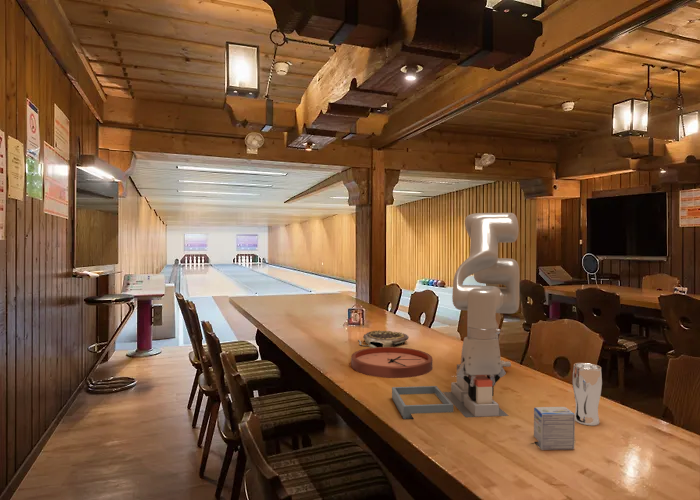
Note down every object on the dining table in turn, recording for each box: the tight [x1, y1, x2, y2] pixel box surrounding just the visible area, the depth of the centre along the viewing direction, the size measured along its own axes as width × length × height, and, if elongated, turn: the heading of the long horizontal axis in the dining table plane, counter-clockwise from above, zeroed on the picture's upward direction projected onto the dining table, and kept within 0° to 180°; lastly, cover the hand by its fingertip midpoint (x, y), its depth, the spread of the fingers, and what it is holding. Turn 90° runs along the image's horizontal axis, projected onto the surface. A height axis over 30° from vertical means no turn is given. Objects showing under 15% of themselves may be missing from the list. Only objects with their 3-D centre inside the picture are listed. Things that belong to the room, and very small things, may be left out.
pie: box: [358, 330, 409, 348], centre depth 213 cm, size 28×27×5 cm
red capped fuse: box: [474, 375, 493, 404], centre depth 124 cm, size 4×6×9 cm, turn 6°
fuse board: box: [442, 381, 509, 418], centre depth 129 cm, size 12×20×4 cm, turn 6°
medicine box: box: [533, 406, 576, 451], centre depth 106 cm, size 8×4×9 cm, turn 92°
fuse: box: [456, 363, 468, 391], centre depth 135 cm, size 4×6×9 cm, turn 6°
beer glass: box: [572, 362, 603, 427], centre depth 120 cm, size 7×7×15 cm
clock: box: [350, 346, 433, 379], centre depth 174 cm, size 31×4×31 cm
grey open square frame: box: [391, 385, 454, 420], centre depth 130 cm, size 14×16×4 cm
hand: (480, 398), depth 124 cm, fingers closed on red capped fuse, 4 cm apart
